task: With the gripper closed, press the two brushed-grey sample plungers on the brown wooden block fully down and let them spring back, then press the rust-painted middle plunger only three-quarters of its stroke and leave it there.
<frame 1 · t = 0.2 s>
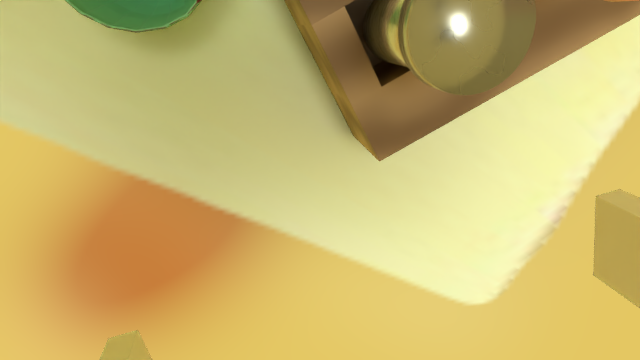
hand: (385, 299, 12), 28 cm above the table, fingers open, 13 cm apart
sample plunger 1: (428, 26, 25), point 12 cm above the table, slide at 0.4 cm
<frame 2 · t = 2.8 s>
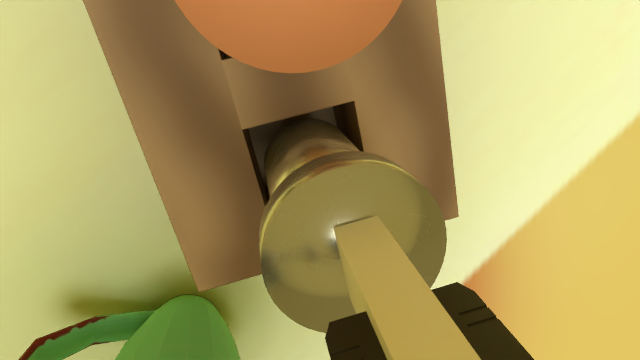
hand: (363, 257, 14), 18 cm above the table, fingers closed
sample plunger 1: (326, 196, 19), point 12 cm above the table, slide at 0.6 cm, touching gripper
mug: (157, 314, 34), on the table
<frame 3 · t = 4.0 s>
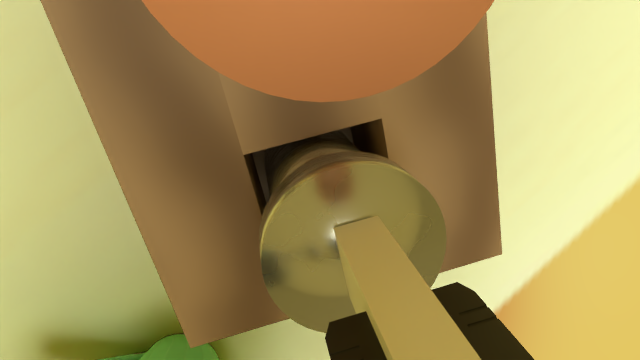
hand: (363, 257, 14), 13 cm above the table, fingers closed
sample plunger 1: (326, 196, 19), point 8 cm above the table, slide at 5.2 cm, touching gripper
mug: (145, 356, 29), on the table
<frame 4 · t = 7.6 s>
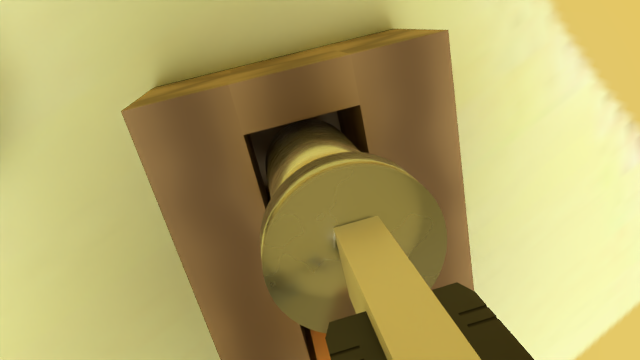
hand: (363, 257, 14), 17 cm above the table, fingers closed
brown wooden block: (324, 252, 33), on the table
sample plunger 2: (327, 197, 19), point 11 cm above the table, slide at 1.6 cm, touching gripper
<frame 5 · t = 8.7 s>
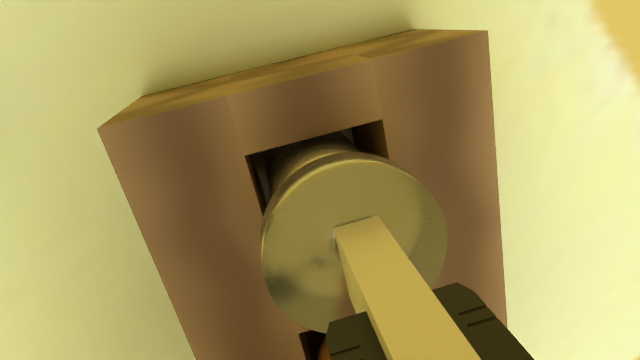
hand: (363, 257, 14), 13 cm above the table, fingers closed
brown wooden block: (334, 277, 30), on the table
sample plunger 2: (327, 197, 19), point 8 cm above the table, slide at 5.2 cm, touching gripper
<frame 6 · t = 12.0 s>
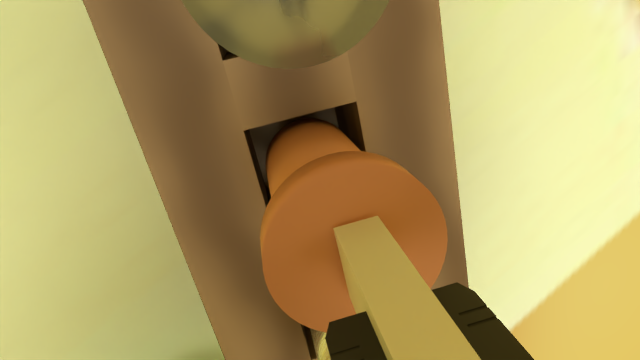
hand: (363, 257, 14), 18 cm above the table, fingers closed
brown wooden block: (295, 134, 30), on the table
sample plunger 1: (361, 346, 23), point 11 cm above the table, slide at 1.5 cm
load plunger: (327, 196, 19), point 12 cm above the table, slide at 0.9 cm, touching gripper
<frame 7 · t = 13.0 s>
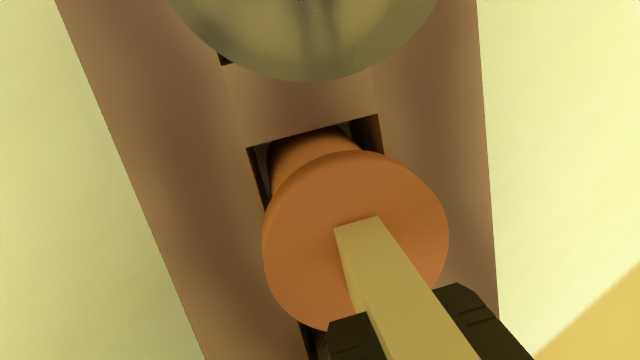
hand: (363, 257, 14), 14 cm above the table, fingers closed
brown wooden block: (302, 146, 27), on the table
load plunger: (328, 195, 19), point 9 cm above the table, slide at 4.3 cm, touching gripper
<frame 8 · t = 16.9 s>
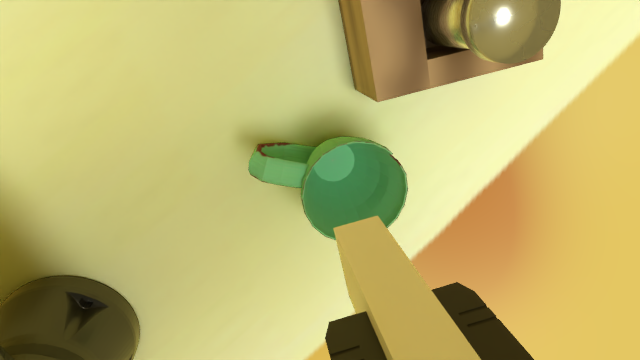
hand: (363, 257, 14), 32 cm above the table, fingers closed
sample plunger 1: (475, 15, 33), point 11 cm above the table, slide at 1.5 cm
mug: (312, 155, 47), on the table
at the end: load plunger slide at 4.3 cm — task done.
